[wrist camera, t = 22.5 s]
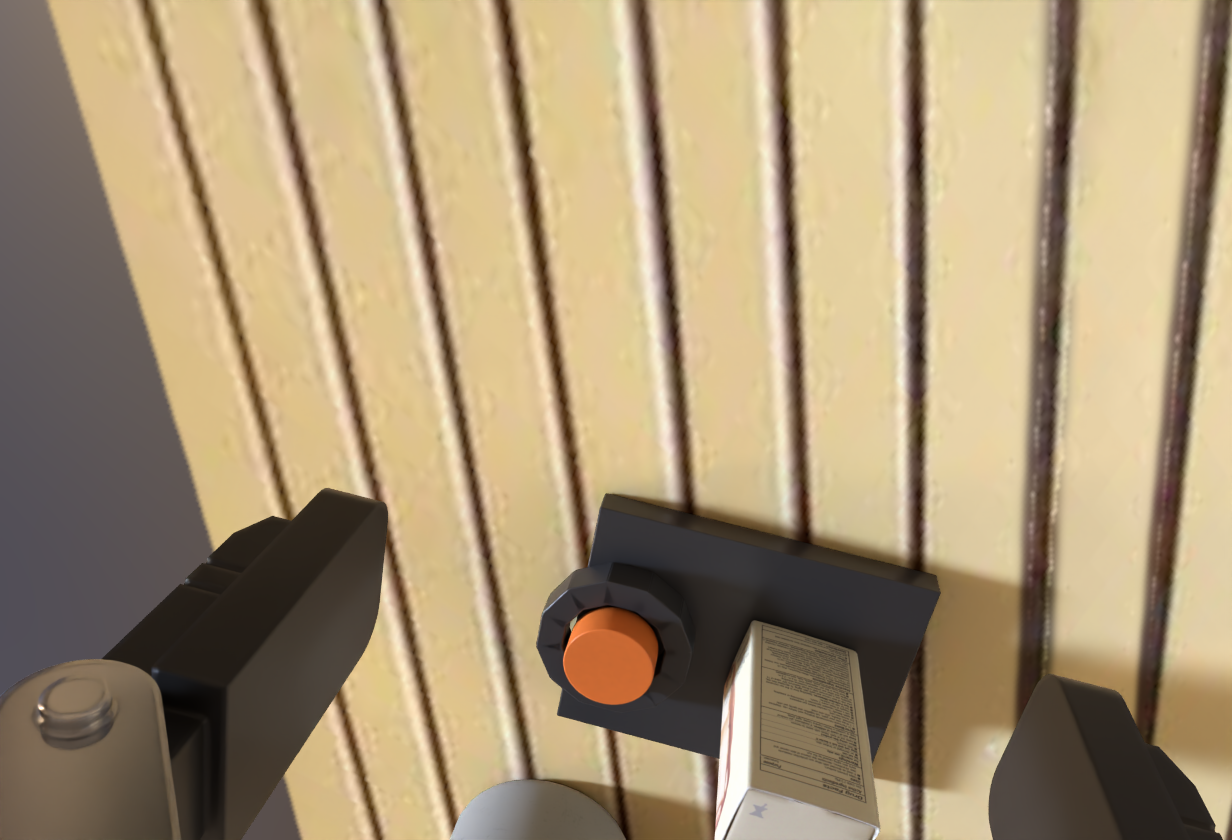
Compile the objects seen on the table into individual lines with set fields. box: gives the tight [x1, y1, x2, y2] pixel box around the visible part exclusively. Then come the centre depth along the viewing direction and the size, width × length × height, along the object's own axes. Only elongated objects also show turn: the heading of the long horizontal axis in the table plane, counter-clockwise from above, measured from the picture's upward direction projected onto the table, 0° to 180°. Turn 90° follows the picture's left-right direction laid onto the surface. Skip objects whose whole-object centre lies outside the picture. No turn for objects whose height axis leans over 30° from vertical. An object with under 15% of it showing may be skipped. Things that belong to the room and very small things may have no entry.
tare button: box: [563, 607, 658, 705], centre depth 42 cm, size 4×4×2 cm
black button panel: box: [536, 493, 941, 763], centre depth 44 cm, size 16×12×3 cm
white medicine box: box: [715, 620, 880, 840], centre depth 39 cm, size 5×4×10 cm
